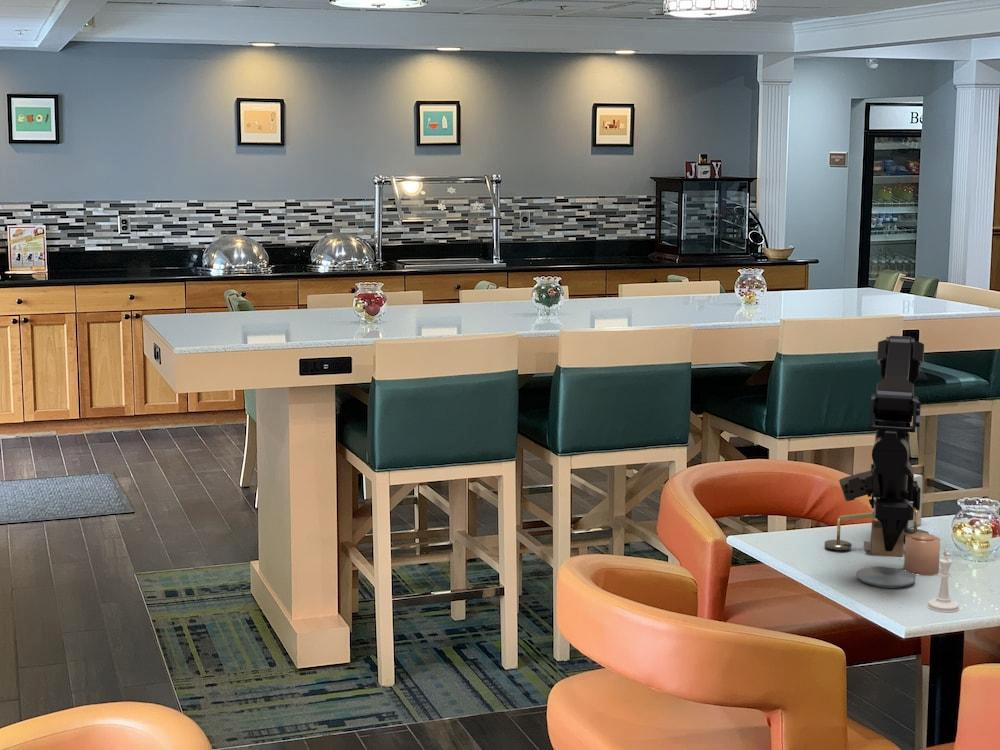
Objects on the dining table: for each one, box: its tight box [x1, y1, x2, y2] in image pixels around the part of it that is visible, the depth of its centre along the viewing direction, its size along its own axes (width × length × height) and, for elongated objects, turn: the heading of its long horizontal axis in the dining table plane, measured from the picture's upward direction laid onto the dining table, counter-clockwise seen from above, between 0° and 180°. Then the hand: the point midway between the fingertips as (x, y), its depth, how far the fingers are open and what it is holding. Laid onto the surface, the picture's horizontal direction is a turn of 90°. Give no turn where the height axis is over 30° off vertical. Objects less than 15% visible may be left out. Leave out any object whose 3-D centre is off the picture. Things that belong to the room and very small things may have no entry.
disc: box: [855, 566, 916, 589], centre depth 228 cm, size 10×10×1 cm
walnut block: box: [870, 519, 905, 558], centre depth 227 cm, size 5×5×5 cm
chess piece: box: [927, 548, 960, 613], centre depth 213 cm, size 5×5×10 cm
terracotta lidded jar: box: [903, 533, 941, 576], centre depth 234 cm, size 6×6×6 cm
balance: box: [824, 507, 930, 556], centre depth 246 cm, size 6×19×9 cm, turn 79°
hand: (886, 546), depth 227 cm, fingers closed on walnut block, 5 cm apart
